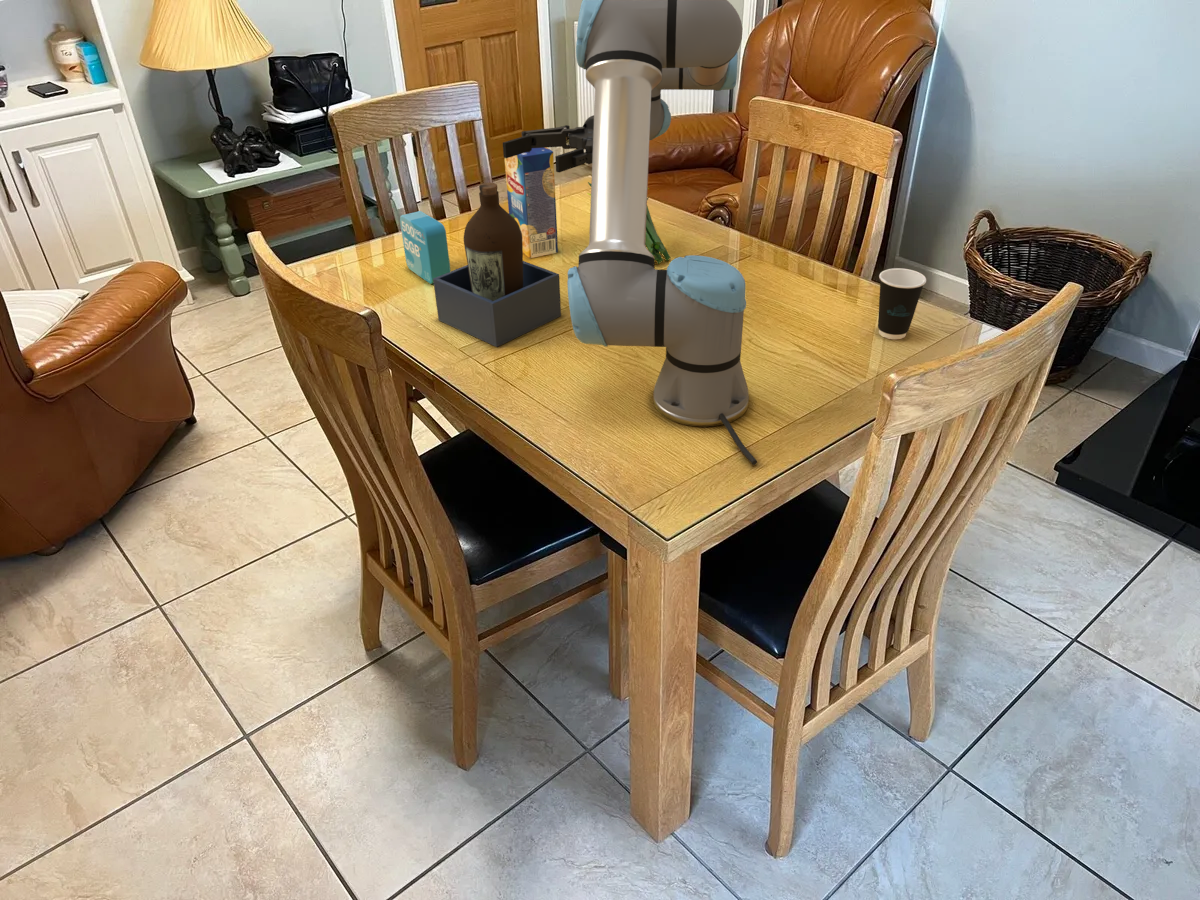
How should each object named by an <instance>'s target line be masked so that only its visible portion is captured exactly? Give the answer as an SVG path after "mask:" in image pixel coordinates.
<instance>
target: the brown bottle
mask: <svg viewBox="0 0 1200 900" xmlns="http://www.w3.org/2000/svg"><path fill="white" fill-rule="evenodd" d="M478 189H479V193H478V197H479V204H480V206H479V207H478V209H477V210H476V212H475V213H474V214H473V215H472V216H471V218H470V219H469V220H468V221H467V223H466V225H465V227H464V230H463V231H464V232H463V246H464V251H465V257H466V265H468V270H469V276H470V283H471V289H472V293H475V294H477V295H480V296H482V297H484V298H487V299H489V300H492V301H495V300H497V299H499V298H501V297H504V296H506V295H508V294H510V293H513V292H515V291H517V290H519V289H522V288H523V261H524V253H523V241H522V233H521V230H520V227H519V225H518V223H517V221H516V220H515V219H514V218H513V217H512V216H511V215H510V214H509V212H507V210H505V209H504V208H503V207H502V206H501V205H500V196H499V194H500V193H499V191H498V184H497V183H495V182H490V181H489V182H483V183H481V184H479V185H478Z"/></svg>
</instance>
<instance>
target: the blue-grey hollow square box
mask: <svg viewBox="0 0 1200 900" xmlns="http://www.w3.org/2000/svg"><path fill="white" fill-rule="evenodd" d="M560 281H561V280H560V274H559V273H557V272H554V271H551V270H549V269H546V268H544V267H541V266H538V265H537V264H534V263H530V262H527V261H525V260H523V288H522V289H519V290H517V291H515V292H513V293H510V294H508V295H506V296H504V297H501V298H499V299H497V300H495V301H492V300H489V299H487V298H484V297H482V296H480V295H477V294H475V293H472V289H471V283H470V276H469V270H468V264H466V265H463V266H460V267H459V268H456V269H454V270H451V272H448V273H446V274H443V275H441V276H438V277H436V278H433V283H432V284H433V289H434V297H435V304H436V311H437V320H438V321H439V322H441V323H443V324H444V325H445V324H446V325H448V326H450V327H452V328H454V329H456V330H458V331H461V332H463V333H465V334H467V335H469V336H471V337H474V338H476V339H478V340H480V341H482V342H484V343H487V344H489V345H491V346H493V347H496V348H498V347H500V346H502V345H504V344H507V343H509V342H511V341H512V340H514V339H517V338H519V337H521V336H523V335H525V334H527V333H529V332H531V331H533V330H536V329H537V328H539V327H541V326H543V325H545V324H548V323H550V322H552V321H554V320H556V319H558V318H560V317H562V307H561V305H562V303H561V288H560V287H561V285H560V283H561V282H560Z"/></svg>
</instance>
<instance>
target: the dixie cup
mask: <svg viewBox="0 0 1200 900" xmlns="http://www.w3.org/2000/svg"><path fill="white" fill-rule="evenodd" d="M878 277H879V281H880V282H879V298H878V299H879V300H878V318H877V328H878V334H879V336H881V337H883V338H884V339H889V340H901V339H904V338H905V337H906V336H907V333H908V332H909V331H910V327H911V325H912V322H913V318H914V316H915V313H916V309H917V307H918V303H919V300H920V297H921V294H922V290H923V288H924V285H925V284H926V283H927V277H926V276H925V275H924V274H922V273H921V272H920V271H919V272H918V271H916V270H913V269H910V268H909V269H908V268H900V267H899V268H898V267H893V268H887V269H885V270H882V271H881V272H880V273H879V275H878Z"/></svg>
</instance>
